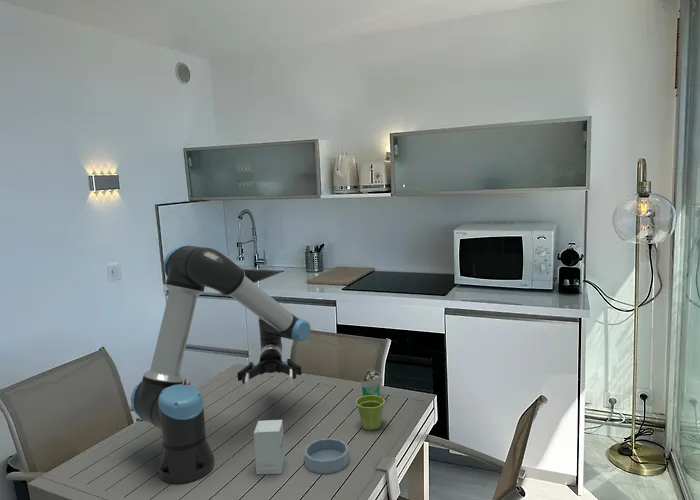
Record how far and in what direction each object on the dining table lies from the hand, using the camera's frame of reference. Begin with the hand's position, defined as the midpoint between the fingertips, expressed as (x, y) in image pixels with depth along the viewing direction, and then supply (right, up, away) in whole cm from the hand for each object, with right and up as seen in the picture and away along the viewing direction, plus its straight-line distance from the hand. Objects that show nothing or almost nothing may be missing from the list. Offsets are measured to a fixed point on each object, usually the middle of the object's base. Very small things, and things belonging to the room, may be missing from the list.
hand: (269, 383), depth 156 cm
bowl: (+18, -20, -8) cm, 28 cm away
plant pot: (+32, -17, +12) cm, 38 cm away
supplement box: (+2, -22, -10) cm, 24 cm away
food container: (+33, -15, +30) cm, 47 cm away
